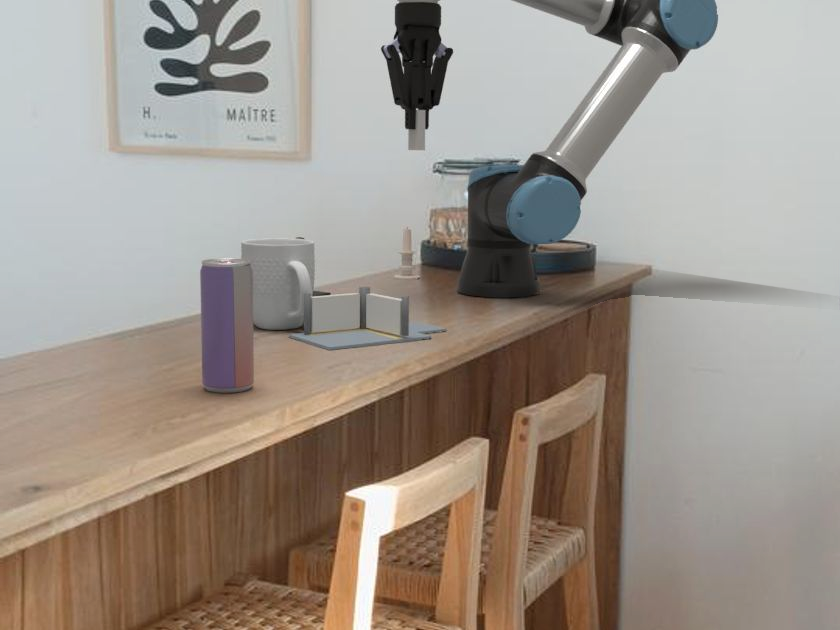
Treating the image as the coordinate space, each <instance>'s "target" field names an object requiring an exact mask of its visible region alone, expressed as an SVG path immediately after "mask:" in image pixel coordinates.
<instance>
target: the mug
mask: <svg viewBox="0 0 840 630" xmlns="http://www.w3.org/2000/svg"><path fill="white" fill-rule="evenodd" d="M295 238H296V237H294V238H291V237H262V238H250V239H244V240H242V241H241V258H240V259H247V260H250V261H251V263H250V265H251V268H252V270H253V324H254V325H255V326H256V327H257V328H259V329H262V330H268V331H270V330H271V331H273V330H274V331H282V330H283V331H284V330H285V331H287V330H295V329H298V328H300V327H301V326H302V325H303V324H304V293H311V297H312V294H313V291H314V289H315V288H314V287H315V279H316V278H315V276H316V272H315V271H316V269H315V267H316V264H315V263H316V262H315V261H316V260H315V241H314V240H312V239H311V240H310V239H306V240H305V238H304V239H295Z"/></svg>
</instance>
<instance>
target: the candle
mask: <svg viewBox="0 0 840 630" xmlns="http://www.w3.org/2000/svg"><path fill="white" fill-rule="evenodd" d="M397 253H398V254H400V255H401V261H400V262H401V264H400V265H399V266H398V269H400V270H401V274H400V273H399V274H394V275H393V279H395V280H397V279H399V280H398V281H415V280H414V279H417V280H419V279H418V278H421V276H420V275H419V274H414V273H413V270H415V269H416V266H415V265H413V255H414V254H416V253H418V251H415V250H412V229H410V228H409V227H408V226H407V227H406V229H403V240H402V250H398V251H397ZM412 273H413V274H412Z"/></svg>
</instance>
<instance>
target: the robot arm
mask: <svg viewBox="0 0 840 630" xmlns="http://www.w3.org/2000/svg"><path fill="white" fill-rule="evenodd" d="M396 1H397V2H398V3H396V4H395V5H394V26H395V29H396V30H395V33H394V35H393V40H392V41H391V42H389V43H388V44H386V45H385V44H384V45H382V46H381V47H380V51H381V52H382V55H383V57H384V59H385V61H386V66H387V70H388V76H389V80H390V87H391V92H392V98H393V102H394V105H396V106H399V107H400V108H401V109H402V110H404V127H405V130H408V132H407V133H408V134H407V135H408V136H407V138H408V141H407V149H408V150H409V151H426V130H429V127H430V123H429V122H430V110H433V108H434V107H437V106H439V105H440V103H441V97H442V92H443V88H444V83H445V78H446V74H447V70H448V64H449V61H450V60H451V58H452V56H453V55H454V49H453V48H452V47H447V46H446V45H445V44H443V42H442V37H441V33H440V28H441V26H442V6H441V5H440V3H439V2H440V1H441V0H396ZM511 1H513V2H515V3H518V4H521V5H524V6H526V7H529V8H532V9H535V10H538V11H540V12H543V13H546V14H549V15H552V16H555V17H559V18H560V19H563V20H566V21H569V22H571V23H572V22H573V23H575V24H578V25H581V26H583V27H584V29H585V31H586V33H587V34H589V35H591V36H594V37H597V38H600V39H602V40H605V41H608V42H610V43H613V44H616V45H618V46H620V48H619V49H618V51H616V54H615V55H613V58H611V60H610V62H609V63H608V65H607V66H606V67H605V69H604V70H603V71H602V72H601V74H599V75H600V76H599V77H598V78H597V79H596V81H595V82H594V84H593V85H592V86H591V87H590V89H589V90H588V92H587V93H586V94H585V95H584V97H583V98H582V100H581V101H580V103H579V104H578V106H576V108H575V110H574V111H573V113H572V114H571V115H570V117H569V118H568V119H567V121H566V122H565V123H564V125H563V126H562V127H561V128H560V130H559V131H558V133H557V134H556V135H555V137H554V138H553V140H552V141H551V142H550V144H549V145H548V146H547V148H546V149H545V150H543V151H538V152H537V151H536V152H532V154H530V156H529V158H528V159H527V160H526V161H525V163H524V164H499V165H498V164H497V165H486V166H485V165H484V166H479V167H475V168H473V169H472V170H471V171H470V172H469V175H468V176H469V177H468V183H467V184H468V185H467V188H466V189H467V248H466V249H467V250H466V254H465V256H464V259H463V262H462V266H461V270H460V272H459V276H458V278H457V281H456V282H457V285H456V287H457V290H456V291H457V292H458V293H459V294H462V295H467V296H473V297H474V296H475V297H483V298H484V297H485V298H486V297H487V298H522V297H531V295H532V296H536V295H538V294H540V279H539V277H538V274H537V273H538V272H537V269H536V265H535V261H534V258H533V255H532V250H531V249H532V246H531V245H536V246H537V245H549V244H550V245H551V244H554V243H555V244H556V243H557V242H560V241H561V240H563V239H565V238H566V237H568V236H569V235H570V233H572V231H574V230H575V228H576V226H577V224H578V222H579V219H580V217H581V212H582V210H581V205H582V200H583V198H585V196H586V194H587V193H588V188H587V184H586V181H587V180H586V179H587V178H588V177H589V175H590V174H591V172H592V171H593V169H594V168H596V166H597V165H598V163H599V162H600V160H601V159H602V157H603V156H604V155H605V153H606V152H607V150H608V149H609V148H610V146H611V145H612V144H613V142H614V141H615V140H616V138H617V137H618V135H619V134H620V133H621V132H622V130H623V129H624V127H625V125H626V124H627V123H628V122H629V120H630V119H631V117H632V116H633V115H634V113H635V112H636V111H637V109H638V108H639V106H640V105H641V104H642V102H643V101H644V100H645V98H646V97H647V95H649V93H650V92H651V90H652V89H653V87H654V85H656V83H657V81H658V80H659V79H660V78H661V76H662V75H663V74H664V73H672V72H675V71H676V70H677V69H678V68H679V67H680V65H681V64H682V62H683V61H684V59H685V58H686V57H687V55H688V54H689V52H690V51H691V50H698V49H700V48H701V47H703V46H705V45H707V44H708V43H709V42H710V41H711V40H712V38H713V37H714V36H715V34H716V31H717V27H718V24H719V14H718V6H717V2H716V0H511ZM400 54H401V57H400ZM434 56H435V57H434ZM537 293H538V294H537ZM535 294H536V295H535Z"/></svg>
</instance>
